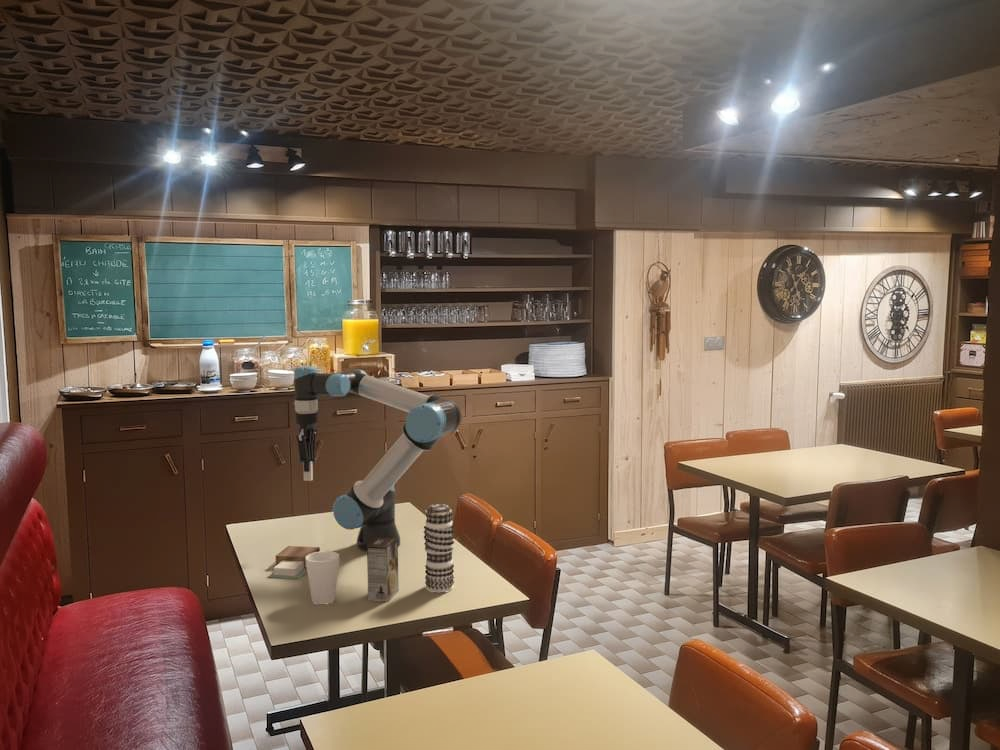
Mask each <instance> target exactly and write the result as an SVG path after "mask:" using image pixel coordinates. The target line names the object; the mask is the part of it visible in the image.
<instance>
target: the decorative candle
mask: <svg viewBox="0 0 1000 750" xmlns="http://www.w3.org/2000/svg"><path fill="white" fill-rule="evenodd" d="M424 512H425V513H426V515H425V517H426V520H425V525H424V526H423V529H424V531H423V533H424V536H423V539H424V541H425V542H424V544H423V545H424V551H425V552H426V559H425V560H426V561H425V562H426V564H425V565H424V566H425V571H424V572H425V577H424V579H425V582H424V583H425V585H426V586H425V590H426V589H427V590H428V591H427V590H426V591H427V592H429V591H431V592H430V593H433V592H437V593H436V594H441V593H440V592H445V593H447V592H446V591H449V592H450V590H451V589H453V590H454V588H455V586H454V583H455V581H454V579H455V576H454V572H455V570H454V566H455V565H454V563H453V562H454V561H453V552H454V547H453V545H454V544H455V541H454V539H455V536H454V535H453V533H454V532H455V531H456V530H455V528H454V527H455V526H456V524H454V523H453V513H452V512H453V510H452V508H450V506H449V505H447V504H445V503H434V504H431V505H428V507H427V509H426V510H424ZM453 587H454V588H453ZM451 591H452V590H451ZM438 592H439V593H438Z"/></svg>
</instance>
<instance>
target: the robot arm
mask: <svg viewBox="0 0 1000 750" xmlns="http://www.w3.org/2000/svg"><path fill="white" fill-rule="evenodd" d="M317 369H318V368H317V367H315V366H309V365H307V366H305V365H304V366H297V367H295V369H294V370H293V372H294V373H293V384H294V387H293V388H294V402H293V405H294V410H295V411H294V412H295V414H294V420H295V425H299V432H298V433H299V434H296V441H297V447H298V453H299V461H300V463H303V464H302V466H303V473H302V474H303V481H304V482H312V481H313V480H314V475H313V474H314V470H313V467H314V466H313V465H314V463H313V461H314V462H315V461H316V458H315V457H316V448H317V446H316V445H317V434H318V429H315V425H316V424H318V423H319V413H318V410H319V400H318V396H323V397H324V396H326V397H335V398H337V397H345V396H346V395H347V394H349V393H352V394H355V395H357V396H361V397H364V398H366V399H370V400H372V401H375V402H378V403H380V404H384V405H386V406H389V407H392V408H395V409H397V410H400V411H403V412H406V413H408V414H407V416H406V419H405V423H404V424H403V426H402V427H401V428H402V429H401V430H402V434H401V435H400V436H399V438H397V440H396V441H395V442H394V444H392V446H391V447H390V448H389V449H388V450H387V452H386V453H385V454H384V455H383V457H382V458H381V459H380V460H379V461H378V462H377V463H376V465H375V466H374V467H373V468H372V469H371V470H370V472H369V473H368V474H367V475H366V477H365V478H364V479H363V480H357V481H356V482H354V484H353V485H352V486H351V487H350V488H349V490H348V491H347V492H346V493H345V494H342V495H340V496H338V497H337V498H336V499H335V500H334V502H333V505H332V512H333V517H334V520H335V521H336V522H337V524H338V526H340V527H341V528H344V529H346V530H349V531H350V530H355V529H359V532H358V535H357V537H356V547H357V548H358V549H360V550H362V551H366V552H367V546H368V545H369V544H371V543H372V542H373V541H374V540H375V539H377V538H378V537H383V538H398V547H399V546H400V545H401V535H400V533H399V530H398V528H397V525H396V512H395V511H396V507H395V506H396V504H395V503H396V501H395V499H396V498H395V497H396V496H395V493H396V490H395V484H396V483H397V482H398V480H400V479H401V477H402V476H403V475H404V474H405V473H406V472H407V470H408V469H409V468H410V467H411V466H412V465H413V464H414V462H416V460H417V459H418V458H419V457H420V456H421V454H422V453H423V452H430V451H431V450H432V449H433V448H434V447H435V445H436V444H437V443H438V442H439V441H440V440H441V438H443V437H444V436H448V435H450V434H452V433H455V432H456V431H457V430H458V429H459V427H460V425H461V423H462V418H463V417H462V415H463V414H462V411H461V409H460V407H459V405H458V404H457V403H456V402H455V401H454V400H452V399H449V398H446V397H445V396H444V397H443V396H440V395H437V394H430V395H427V394H424V393H421V392H419V391H416V390H412V389H409V388H407V387H403V386H400V385H399V384H398V385H397V384H394V383H391V382H389V381H387V380H382V379H380V378H377V377H374V376H370V375H368V374H367V373H366V372H365V370H362V369H350V370H345V371H339V372H331V373H330V372H328V373H327V372H326V373H324V372H322V373H320V372H318V371H317Z"/></svg>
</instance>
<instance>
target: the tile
mask: <svg viewBox="0 0 1000 750" xmlns="http://www.w3.org/2000/svg"><path fill="white" fill-rule="evenodd" d="M303 568H304V561H282V562H280V563H279V564H278V565H277V566H276V565H275V566H274V567H273V572H274V575H288V576H296V575H297V574H298V573H299V572H300V571H301V570H302V569H303Z"/></svg>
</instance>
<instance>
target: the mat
mask: <svg viewBox="0 0 1000 750" xmlns="http://www.w3.org/2000/svg"><path fill="white" fill-rule="evenodd" d="M306 572H307V569H305V568H303V569H302V570H301V571H300V572H299V573H298V574H297V575H296V576H288V575H274V571H273V572H272V573H271V574H270V575H268V578H269V579H271V578H270V577H273V578H272V579H287V578H300V579H301V578H303V577H304V576H305V575H306V574H307V573H306ZM305 573H306V574H305ZM304 574H305V575H304ZM303 575H304V576H303Z"/></svg>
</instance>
